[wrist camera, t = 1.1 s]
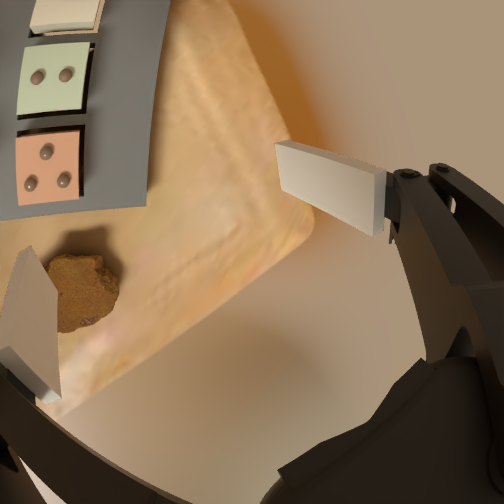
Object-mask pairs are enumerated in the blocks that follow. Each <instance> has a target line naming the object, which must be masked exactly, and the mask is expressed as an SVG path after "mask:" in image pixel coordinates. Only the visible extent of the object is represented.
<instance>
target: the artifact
mask: <svg viewBox="0 0 504 504" xmlns="http://www.w3.org/2000/svg"><path fill="white" fill-rule="evenodd" d="M45 271H46V273H47V274H48V276H49V278H50V279H51V281H52V283H53V284H54V286H55V287H56V289H57V291H58V303H57V332H61V333H69V332H73V331H75V330H76V329H78V328H81V327H87V326H90V325H93V324H95V323H96V322H97V321H99V320H100V319H101V318H103V317H105V316H107V315H108V314H109V313H110V312H111V311H112V310H113V308H114V305H115V302H116V301H117V297H118V295H119V287H118V278H117V276H116V275H114V274H111V273H110V271H109V270H108V269H106V268H104V260H103V258H102V256H101V255H94V256H84V255H81V256H78V257H76V256H73V255H70V254H63V255H60V256H56V257H54V258H53V259H52V260H51V262H50V264H49V265H48V267H46V269H45Z"/></svg>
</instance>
